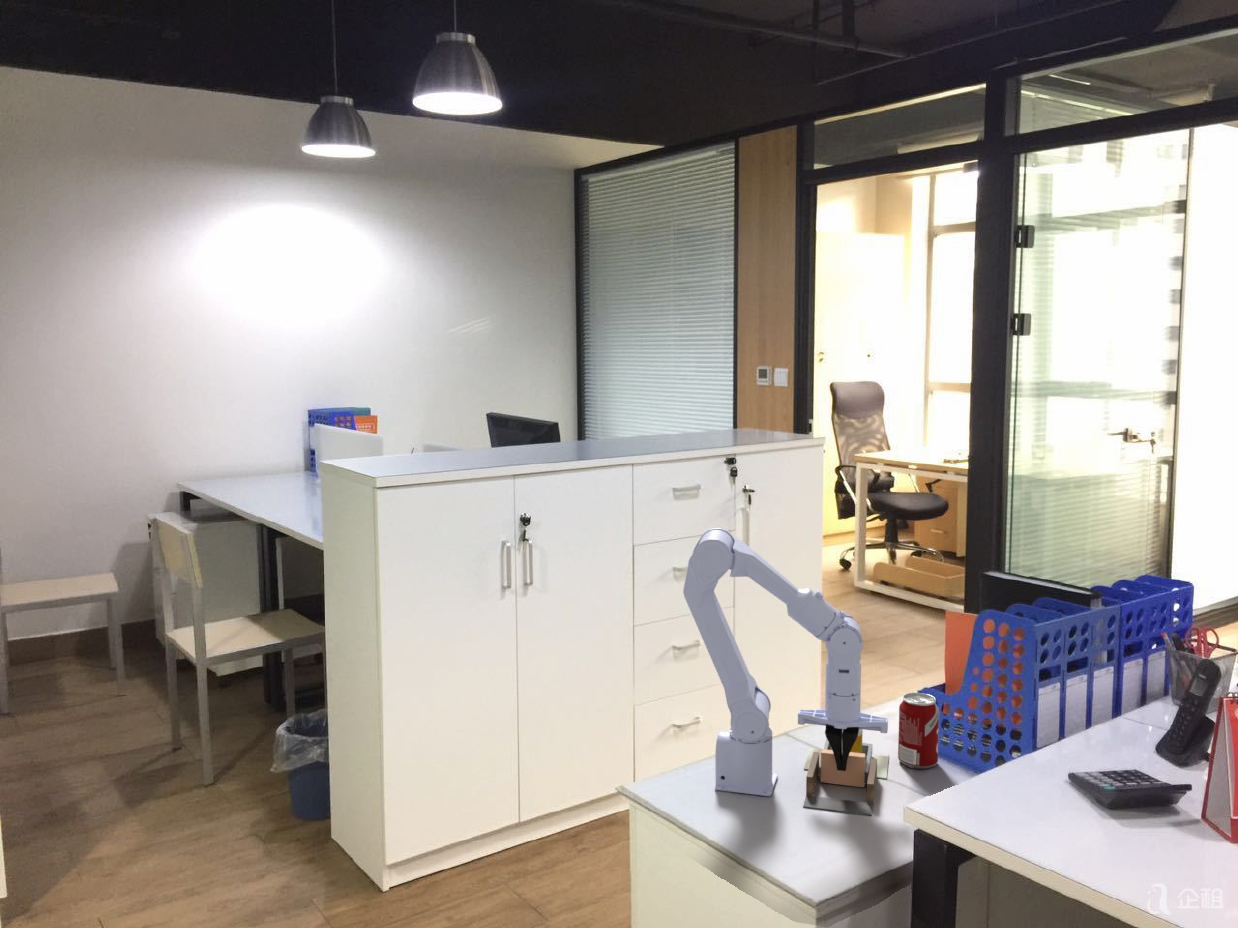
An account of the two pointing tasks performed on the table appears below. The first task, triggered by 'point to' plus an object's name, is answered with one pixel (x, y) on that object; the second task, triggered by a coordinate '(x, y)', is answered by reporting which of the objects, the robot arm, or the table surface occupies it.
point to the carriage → (854, 770)
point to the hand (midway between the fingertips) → (841, 768)
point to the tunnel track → (812, 765)
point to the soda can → (918, 731)
